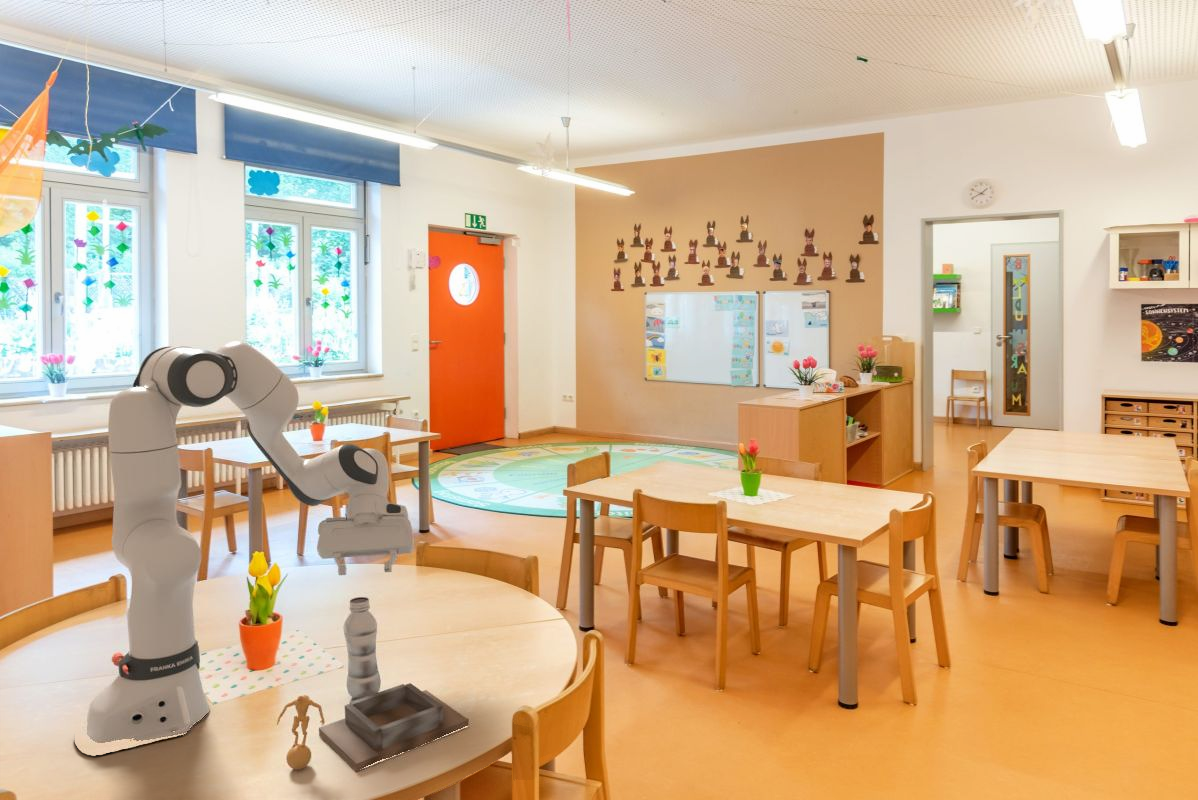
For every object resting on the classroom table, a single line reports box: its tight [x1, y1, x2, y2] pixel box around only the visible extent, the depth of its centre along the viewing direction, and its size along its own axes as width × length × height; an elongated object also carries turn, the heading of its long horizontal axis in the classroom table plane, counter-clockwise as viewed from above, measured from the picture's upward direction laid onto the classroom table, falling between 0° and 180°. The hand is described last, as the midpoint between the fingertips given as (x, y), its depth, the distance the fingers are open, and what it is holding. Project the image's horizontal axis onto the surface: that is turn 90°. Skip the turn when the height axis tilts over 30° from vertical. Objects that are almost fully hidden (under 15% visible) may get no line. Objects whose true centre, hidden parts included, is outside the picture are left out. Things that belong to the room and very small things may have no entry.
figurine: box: [276, 694, 325, 770], centre depth 142 cm, size 8×6×12 cm
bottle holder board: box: [318, 682, 470, 772], centre depth 153 cm, size 22×16×5 cm
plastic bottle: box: [342, 596, 382, 700], centre depth 166 cm, size 6×7×20 cm
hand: (365, 572), depth 176 cm, fingers open, 8 cm apart
